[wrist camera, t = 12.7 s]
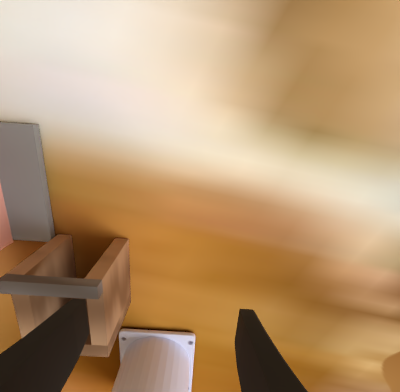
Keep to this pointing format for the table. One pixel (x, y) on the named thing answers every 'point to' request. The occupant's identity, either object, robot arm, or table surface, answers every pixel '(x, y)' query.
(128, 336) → the robot arm
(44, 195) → the pad
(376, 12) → the table surface
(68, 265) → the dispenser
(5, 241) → the pink eraser brick
